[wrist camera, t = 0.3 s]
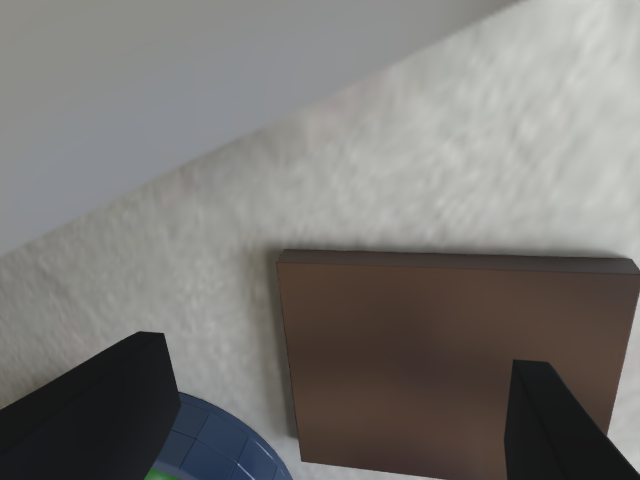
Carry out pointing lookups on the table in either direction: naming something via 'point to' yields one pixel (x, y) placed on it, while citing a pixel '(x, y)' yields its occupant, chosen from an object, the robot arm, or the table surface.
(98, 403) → the robot arm
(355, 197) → the table surface
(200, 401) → the bowl
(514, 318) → the plate
